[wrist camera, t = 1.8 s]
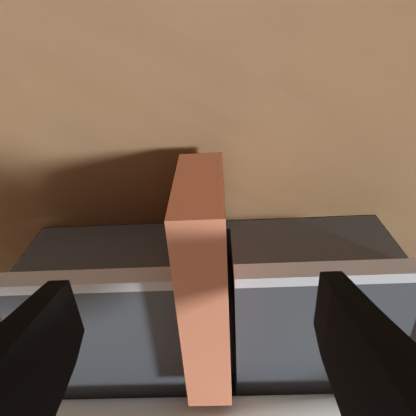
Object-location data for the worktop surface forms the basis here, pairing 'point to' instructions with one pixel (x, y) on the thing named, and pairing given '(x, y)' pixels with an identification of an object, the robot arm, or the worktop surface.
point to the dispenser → (238, 310)
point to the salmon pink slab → (201, 276)
